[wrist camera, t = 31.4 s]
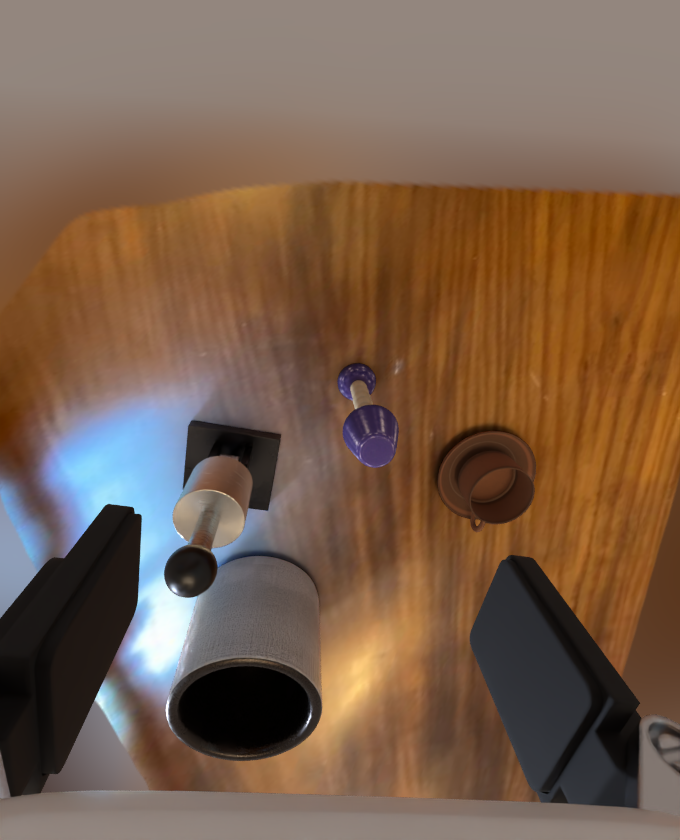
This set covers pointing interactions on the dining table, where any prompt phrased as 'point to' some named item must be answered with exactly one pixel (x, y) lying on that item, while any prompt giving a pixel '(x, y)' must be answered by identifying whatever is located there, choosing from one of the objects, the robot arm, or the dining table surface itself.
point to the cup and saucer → (488, 478)
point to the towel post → (207, 521)
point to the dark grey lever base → (236, 454)
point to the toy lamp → (367, 419)
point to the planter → (250, 663)
